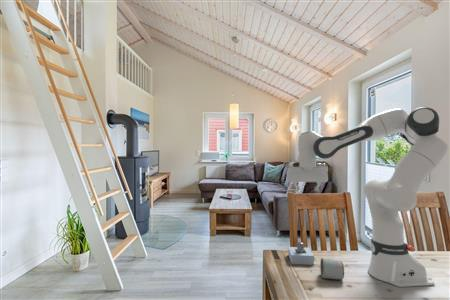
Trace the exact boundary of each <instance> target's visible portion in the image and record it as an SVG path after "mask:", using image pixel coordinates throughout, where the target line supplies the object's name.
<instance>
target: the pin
mask: <svg viewBox="0 0 450 300" xmlns="http://www.w3.org/2000/svg"><path fill="white" fill-rule="evenodd" d="M296 243H297V244H296V247H297V253H304V247H305V242H302V241H297V242H296Z"/></svg>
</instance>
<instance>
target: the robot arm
mask: <svg viewBox="0 0 450 300" xmlns="http://www.w3.org/2000/svg"><path fill="white" fill-rule="evenodd" d="M439 126H440V116H439V114H438V112H437V110H435V109H434V108H431V107H427V106H424V107H423V106H422V107H421V106H420V107H417V108H415V109H413V110H412V111H411V112H409V114H408V113H407V112H406V111H405V110H404V109H402V108H394V109H389V110H388V109H387V110H385V111H383V112H382V111H381V112H380V113H377V114H374V115H372V116H370V117H368V118H366V119H365V120H363V121H361V122H360V123H359V124H358V125H357V126H355V127H354V128H352V129H350V130H348V131H345V132H342V133H339V134H337V135H334V136H323V135H320V134H318V133H316V132H315V131H313V130H312V131H305V132H302V133H300V135H299V136H298V140H297V151H298V155H297V160H294V161H291V162H289V163H288V166H289V167H288V168H287V170H286V181H287V182H289V183H291V182H292V183H293V185H294V186H295V187H294V188H295V191H296V192H299V191H300V187H299V186H297V185H298V183H316V184H317V185H316V186H315V187H314V191H315V192H319V188H320V187H321V185H322V183H327V182H328V181H329V173H328V171H329V166H328V164H326V163H317V157H318V158H320V159H324V160H327V159H330V158H332V157H333V156H335V155H336V153H337V152H339V151H340V150H342V149H343V148H346V147H349V146H351V145H354V144H356V143H360V142H370V141H376V140H379V139H380V140H381V139H383V138H386V137H389V136H391V135H393V134H400V137H401V138H402V139H404V140H405V141H406V142H407V143H408V144H409V145H411V146H412V147H411V148H410V149H409V150H408V151H407V152H406V153H405V154H404V155H403V156H402V157H401V158H400V159H399V160H398V161H397V162H396V163H395V165H394V171H393V174H392V175H391V177H390V178H389V179H388V180H386V179H385V180H384V179H382V178H381V179H380V178H379V179H377V178H376V179H373V180H369V181H368V182H366V183H365V185H364V187H363V194H364V196H365V198H366V200H367V204H368V207H369V211H370V215H371V216H370V217H371V227H372V229H371V233H372V235H371V241H370V251H371V255H370V262H369V266H368V269H367V272H368V274H369V275H370V276H371V277H374V278H375V279H377V280H379V281H382V282H386V283H389V284H392V285H394V286H396V287H399V288H402V287H405V288H407V287H424V286H434V285H435V282H434V280H433V278H432V277H431V276H430V275H429V274H427V270H426V267H425V265H424V264H423V263H422V262H421V261H420V260H419V259H417V257H415V256H414V255H413V254H412V253H413V252H414V251H415V247H414V246H412V245H410V244H407V243H406V242H404V235H405V234H404V232H405V231H404V229H405V228H404V222H403V220H402V219H401V217H400V214H399V212H404V213H405V212H410V211H412V210H413V209H414V208H415V207H416V205H417V202H418V196H417V192H418V190H419V188H420V187H421V184H422V183H423V181H424V180H425V179H426V178H427V177H429V176H428V175H430V174H431V173H432V172H433V170H434V169H435V168H436V167H437V166H438V165H439V164H440V163H441V161H442V160H443V159H444V157H445V156H446V154H447V152H448V150H449V148H448V144H447V143H446V142H445V141H444V140H443V139H442V138H440V137H438V135H437V133H438V132H439V130H440V129H439V128H440V127H439ZM410 252H411V253H410Z"/></svg>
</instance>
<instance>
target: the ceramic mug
mask: <svg viewBox="0 0 450 300" xmlns="http://www.w3.org/2000/svg"><path fill="white" fill-rule="evenodd" d="M319 264H320V266H319V267H320V269H319V270H320V277H321V278H322V279H326V280H343V279H344V277H345V266H344V263H343V262H342V261H341V260H339V259H332V258H326V257H321V258H320V263H319Z"/></svg>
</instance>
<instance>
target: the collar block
mask: <svg viewBox="0 0 450 300" xmlns="http://www.w3.org/2000/svg"><path fill="white" fill-rule="evenodd" d="M287 247H288V248H287V254H288V255H289V256H288V258H289V261H290V263H291V264H292V265H312V266H314V265H315V255H314V253H313V252H312V250H311V248H310V247H305V246H304V253H297V246H287Z"/></svg>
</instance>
